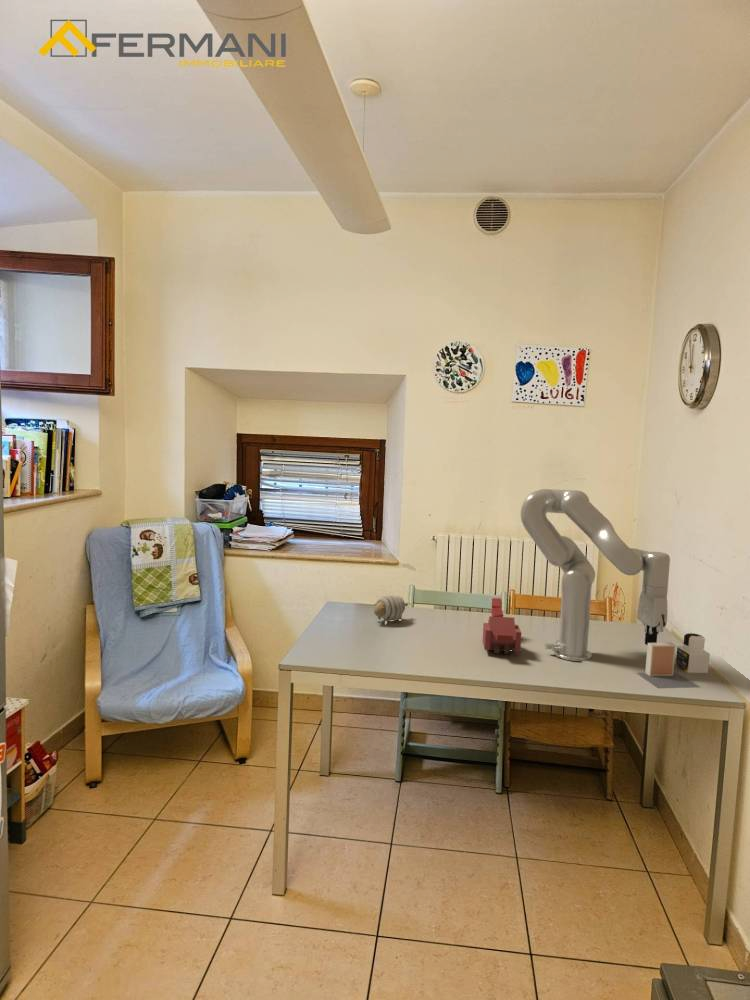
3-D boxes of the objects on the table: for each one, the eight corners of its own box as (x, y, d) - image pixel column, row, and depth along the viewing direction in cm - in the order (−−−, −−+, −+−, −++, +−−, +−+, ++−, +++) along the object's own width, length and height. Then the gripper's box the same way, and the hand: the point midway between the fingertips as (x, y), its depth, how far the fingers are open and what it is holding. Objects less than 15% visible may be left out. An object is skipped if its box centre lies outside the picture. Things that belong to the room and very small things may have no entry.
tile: (649, 676, 198) (652, 645, 197) (645, 673, 200) (647, 642, 199) (673, 675, 199) (675, 645, 198) (668, 672, 201) (670, 642, 200)
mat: (657, 690, 188) (657, 688, 188) (635, 674, 200) (636, 672, 200) (700, 688, 190) (700, 687, 190) (676, 673, 202) (676, 671, 202)
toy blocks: (515, 667, 222) (510, 605, 237) (524, 641, 206) (517, 576, 222) (481, 666, 223) (477, 604, 238) (487, 640, 207) (483, 575, 222)
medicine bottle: (675, 666, 209) (678, 631, 208) (695, 666, 209) (698, 631, 208) (687, 674, 202) (690, 638, 201) (708, 674, 202) (711, 638, 201)
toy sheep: (365, 622, 245) (366, 595, 244) (395, 614, 257) (396, 588, 256) (385, 629, 238) (386, 600, 237) (414, 620, 250) (415, 593, 249)
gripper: (631, 584, 210) (627, 637, 212) (657, 596, 195) (653, 653, 197) (651, 584, 211) (647, 637, 213) (679, 596, 196) (675, 652, 198)
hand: (650, 644), depth 205 cm, fingers closed
